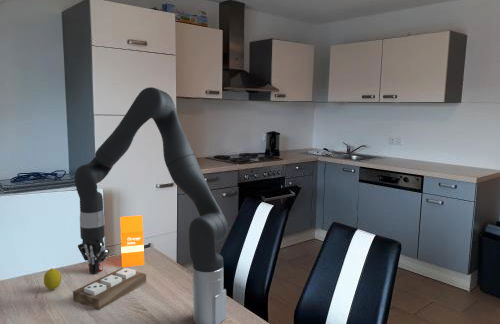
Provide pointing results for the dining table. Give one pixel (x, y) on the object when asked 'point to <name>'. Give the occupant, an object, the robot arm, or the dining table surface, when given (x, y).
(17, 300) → the dining table surface
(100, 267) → the soda can
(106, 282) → the button two
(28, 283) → the dining table surface
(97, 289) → the button three
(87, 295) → the button panel
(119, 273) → the button one
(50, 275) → the lemon
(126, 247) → the orange juice
